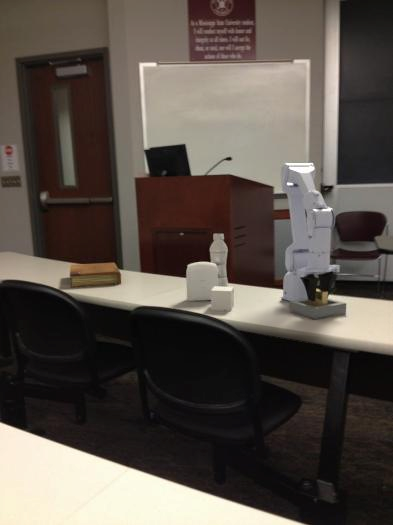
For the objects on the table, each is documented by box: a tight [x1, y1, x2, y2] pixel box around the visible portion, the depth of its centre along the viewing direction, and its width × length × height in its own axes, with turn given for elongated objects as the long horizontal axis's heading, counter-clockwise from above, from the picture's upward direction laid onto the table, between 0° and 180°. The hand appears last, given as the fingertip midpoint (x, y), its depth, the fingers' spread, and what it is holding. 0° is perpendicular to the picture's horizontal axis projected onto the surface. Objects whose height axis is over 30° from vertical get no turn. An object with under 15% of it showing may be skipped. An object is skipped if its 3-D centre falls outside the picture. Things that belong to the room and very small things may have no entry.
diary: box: [69, 262, 122, 289], centre depth 177 cm, size 23×19×6 cm
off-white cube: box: [210, 286, 235, 312], centre depth 132 cm, size 6×6×6 cm
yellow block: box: [309, 288, 329, 307], centre depth 126 cm, size 4×5×6 cm
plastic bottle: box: [209, 233, 229, 287], centre depth 155 cm, size 6×7×20 cm
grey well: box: [289, 297, 347, 321], centre depth 126 cm, size 10×12×3 cm
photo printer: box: [185, 261, 218, 302], centre depth 142 cm, size 10×4×12 cm, turn 96°
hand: (317, 299), depth 126 cm, fingers open, 4 cm apart
